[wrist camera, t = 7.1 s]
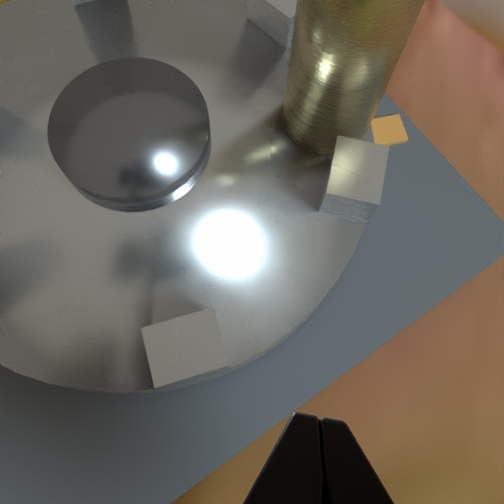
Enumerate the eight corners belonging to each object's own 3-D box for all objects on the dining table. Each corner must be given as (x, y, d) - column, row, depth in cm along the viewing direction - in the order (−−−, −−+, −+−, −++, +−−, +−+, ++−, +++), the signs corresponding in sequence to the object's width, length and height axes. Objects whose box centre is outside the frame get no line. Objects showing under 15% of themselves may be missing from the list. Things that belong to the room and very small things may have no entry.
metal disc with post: (387, 50, 20) (583, -441, 9) (316, 447, 15) (550, 567, 4) (29, -21, 21) (-235, -552, 9) (-148, 331, 16) (-1159, 126, 5)
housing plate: (500, 253, 19) (524, 239, 18) (52, 587, 15) (30, 608, 14) (224, -56, 24) (222, -89, 23) (-166, 139, 20) (-201, 115, 19)
